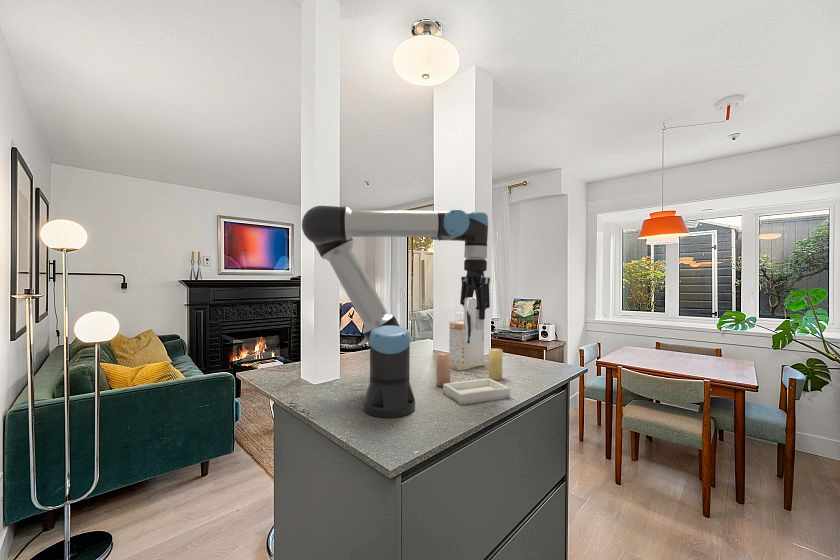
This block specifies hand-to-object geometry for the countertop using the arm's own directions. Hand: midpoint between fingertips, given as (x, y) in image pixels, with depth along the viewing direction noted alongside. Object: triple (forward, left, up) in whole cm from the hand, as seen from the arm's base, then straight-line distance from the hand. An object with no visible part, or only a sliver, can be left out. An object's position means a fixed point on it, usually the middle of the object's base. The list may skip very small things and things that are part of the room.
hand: (473, 327), depth 125 cm
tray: (-1, -3, -22) cm, 22 cm away
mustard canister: (+16, +11, -22) cm, 29 cm away
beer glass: (0, 0, -5) cm, 5 cm away
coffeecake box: (+15, +31, -22) cm, 40 cm away
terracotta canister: (-6, +11, -22) cm, 25 cm away
